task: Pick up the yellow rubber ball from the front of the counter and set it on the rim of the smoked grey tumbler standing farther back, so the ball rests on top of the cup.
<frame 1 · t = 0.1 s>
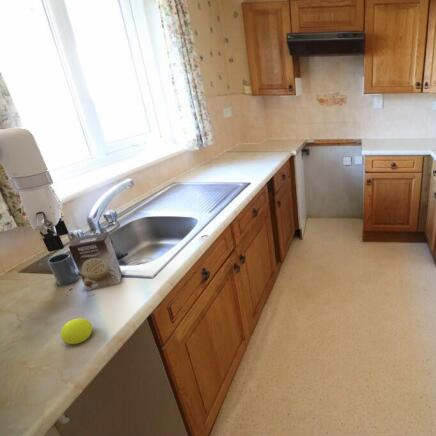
hand: (59, 242, 85), 20 cm above the counter, tool pointing down, fingers open, 9 cm apart
ball: (76, 331, 79), point 3 cm above the counter
coffee box: (106, 283, 102), on the counter
tumbler: (69, 282, 103), on the counter
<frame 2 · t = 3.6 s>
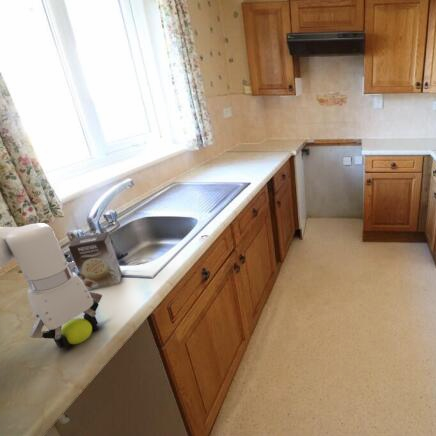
hand: (79, 337, 79), 1 cm above the counter, tool pointing down, fingers closed on ball, 5 cm apart
ball: (76, 331, 79), point 3 cm above the counter, touching gripper
everything else where it was.
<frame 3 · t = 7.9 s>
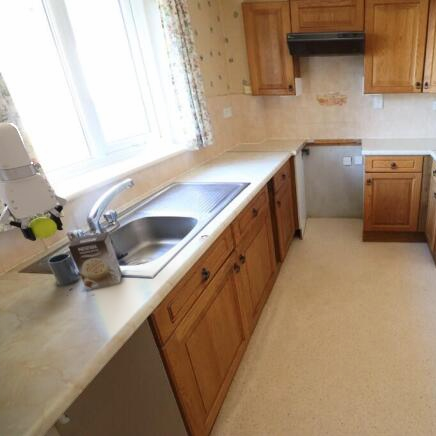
hand: (45, 234, 91), 20 cm above the counter, tool pointing down, fingers closed on ball, 5 cm apart
ball: (42, 227, 90), point 22 cm above the counter, touching gripper
everything else where it was.
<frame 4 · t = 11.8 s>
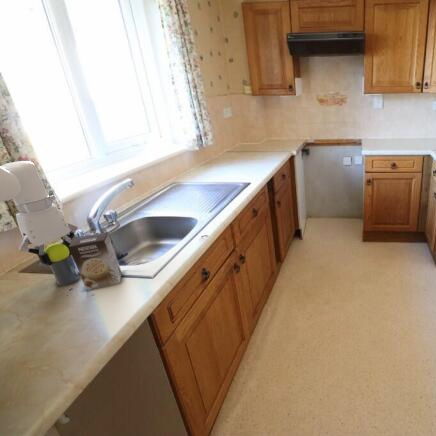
hand: (59, 258, 99), 9 cm above the counter, tool pointing down, fingers closed on ball, 5 cm apart
ball: (57, 252, 99), point 11 cm above the counter, touching gripper, tumbler
tumbler: (69, 282, 103), on the counter, touching ball, gripper
everything else where it was.
when the fingers open (9 cm above the counter, at t = 12.0 s): ball stays where it is, resting on tumbler.
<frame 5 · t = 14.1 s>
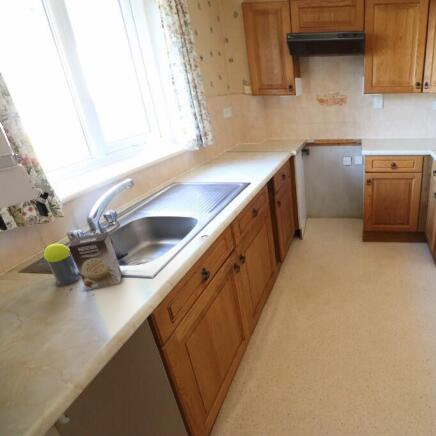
hand: (24, 222, 91), 23 cm above the counter, tool pointing down, fingers open, 9 cm apart
ball: (56, 253, 99), point 11 cm above the counter, touching tumbler
tumbler: (69, 282, 103), on the counter, touching ball
everything else where it was.
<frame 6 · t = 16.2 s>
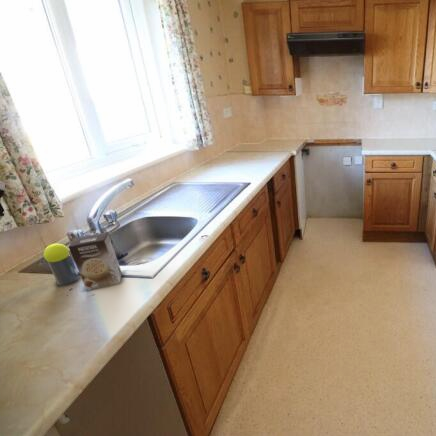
nothing on the counter moved.
at the end: ball 0.0 cm off-centre on the tumbler, point 10.8 cm above the tumbler's base; ball touching tumbler; tumbler tilted 0° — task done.
